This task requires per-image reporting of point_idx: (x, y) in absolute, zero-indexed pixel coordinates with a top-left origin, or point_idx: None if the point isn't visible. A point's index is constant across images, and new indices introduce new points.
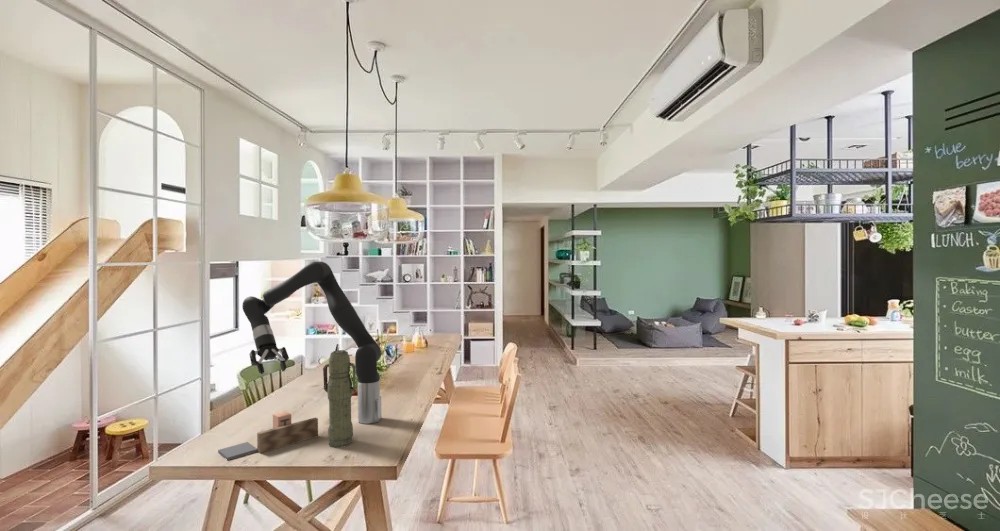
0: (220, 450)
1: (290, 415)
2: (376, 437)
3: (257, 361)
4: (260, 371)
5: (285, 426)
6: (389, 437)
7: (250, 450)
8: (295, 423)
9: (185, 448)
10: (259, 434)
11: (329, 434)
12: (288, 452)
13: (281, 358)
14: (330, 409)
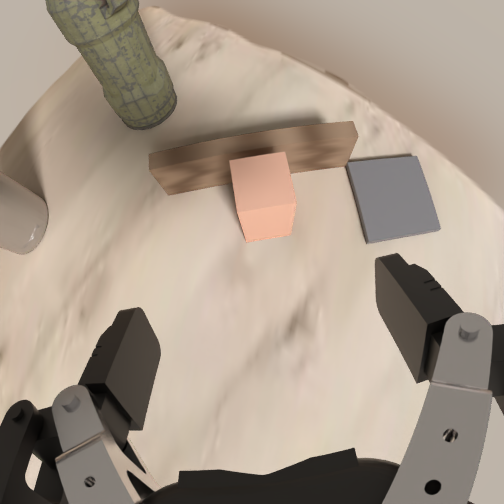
0: (435, 220)
1: (233, 162)
2: (82, 104)
3: (500, 354)
4: (415, 270)
5: (265, 136)
6: (69, 94)
7: (365, 164)
8: (227, 145)
9: (496, 324)
10: (352, 121)
11: (169, 79)
12: (273, 115)
13: (84, 420)
14: (144, 30)
